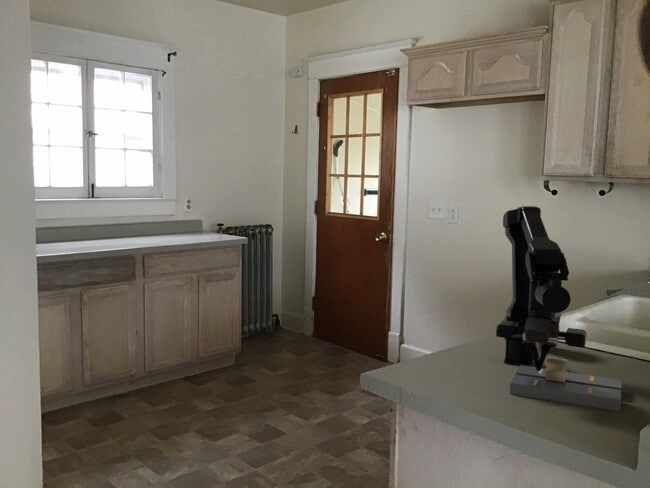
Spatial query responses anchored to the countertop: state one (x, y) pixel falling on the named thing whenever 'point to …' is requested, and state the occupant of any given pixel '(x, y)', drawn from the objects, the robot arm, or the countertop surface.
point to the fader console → (568, 388)
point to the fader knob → (556, 369)
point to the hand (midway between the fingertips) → (538, 370)
